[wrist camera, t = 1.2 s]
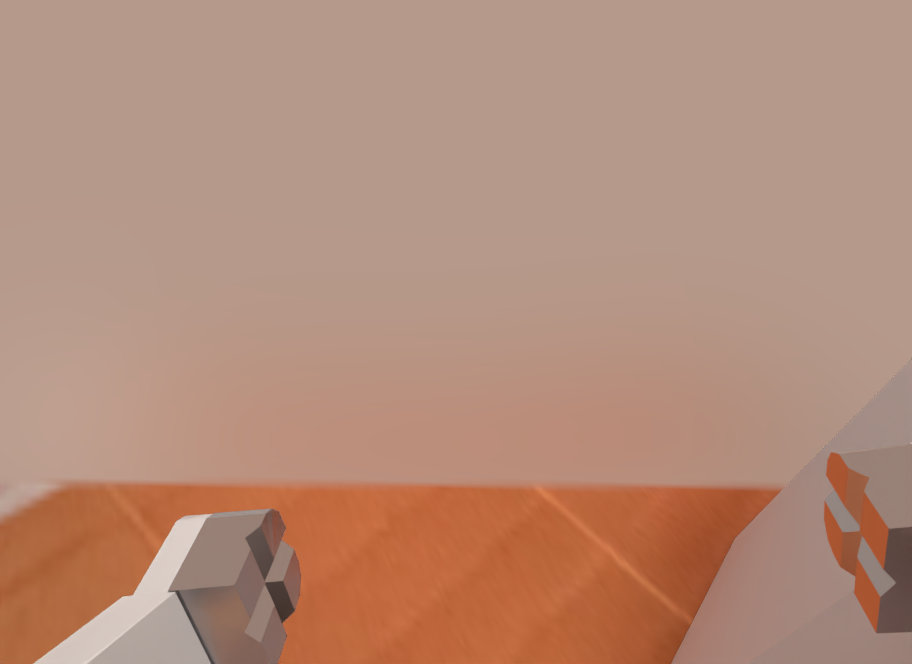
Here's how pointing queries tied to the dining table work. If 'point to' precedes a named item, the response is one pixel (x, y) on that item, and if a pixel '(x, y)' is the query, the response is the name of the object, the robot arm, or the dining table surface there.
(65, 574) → the dining table surface
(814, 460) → the channel block
